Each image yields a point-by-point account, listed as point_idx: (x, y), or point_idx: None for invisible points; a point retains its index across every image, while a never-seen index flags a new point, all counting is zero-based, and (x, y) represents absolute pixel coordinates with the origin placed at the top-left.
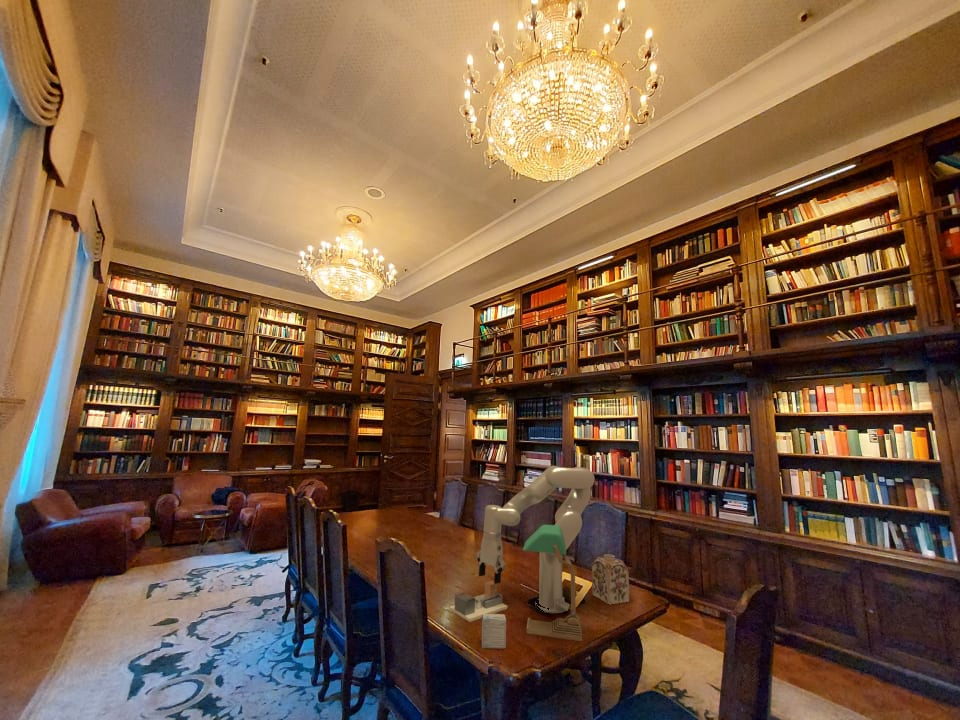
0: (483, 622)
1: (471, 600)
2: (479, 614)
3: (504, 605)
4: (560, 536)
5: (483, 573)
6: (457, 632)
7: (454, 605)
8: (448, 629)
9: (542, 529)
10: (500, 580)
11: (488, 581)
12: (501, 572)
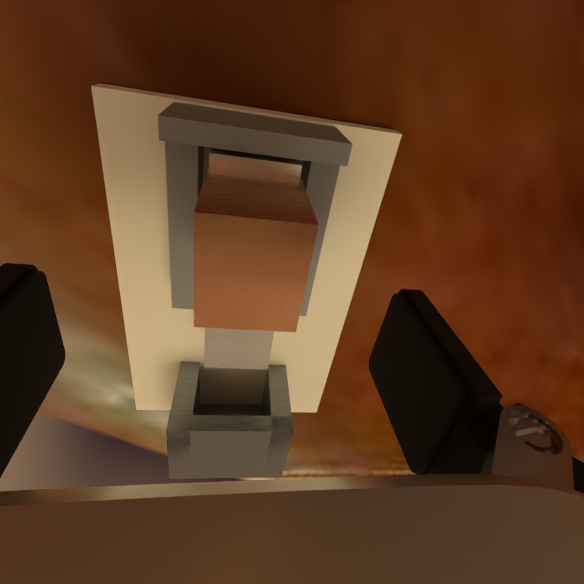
0: None
1: (288, 445)
2: (320, 360)
3: (375, 147)
4: None
5: (38, 321)
6: (334, 460)
7: (136, 387)
8: (294, 468)
9: None
10: (430, 305)
11: (196, 277)
12: (530, 423)
